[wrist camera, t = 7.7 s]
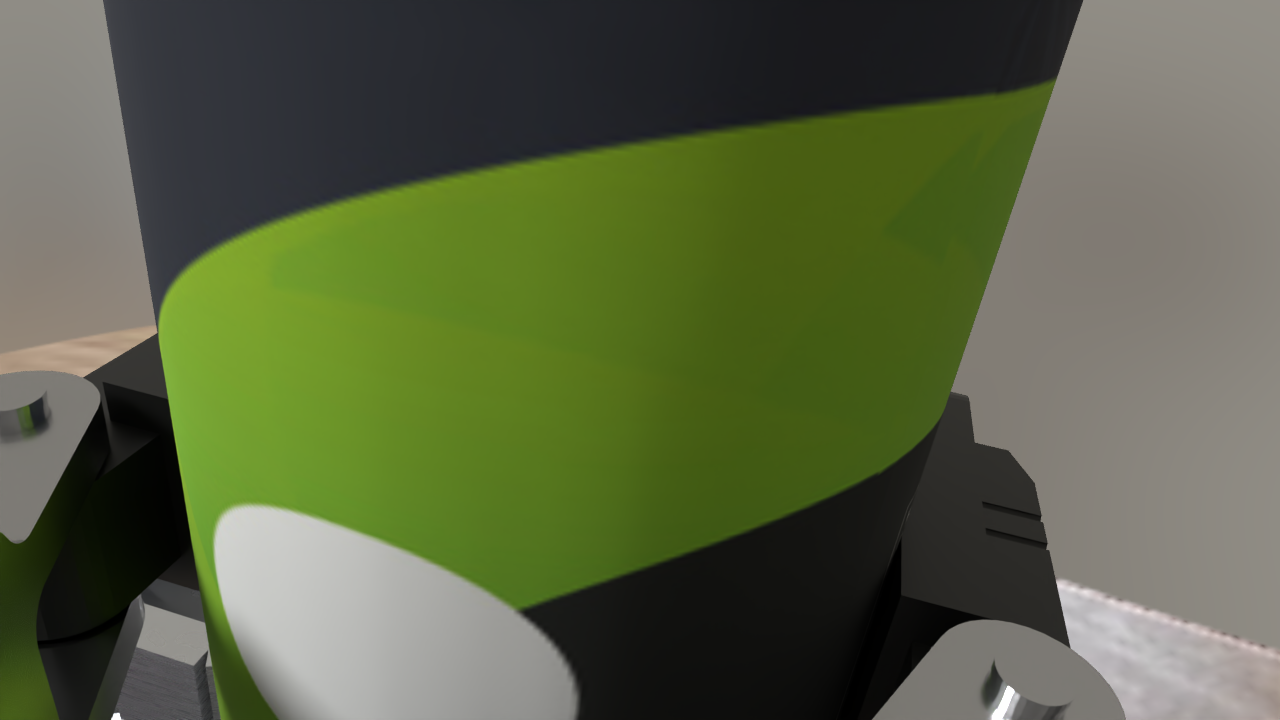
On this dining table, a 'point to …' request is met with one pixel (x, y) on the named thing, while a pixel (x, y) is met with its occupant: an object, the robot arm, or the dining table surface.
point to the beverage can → (563, 332)
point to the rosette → (170, 660)
